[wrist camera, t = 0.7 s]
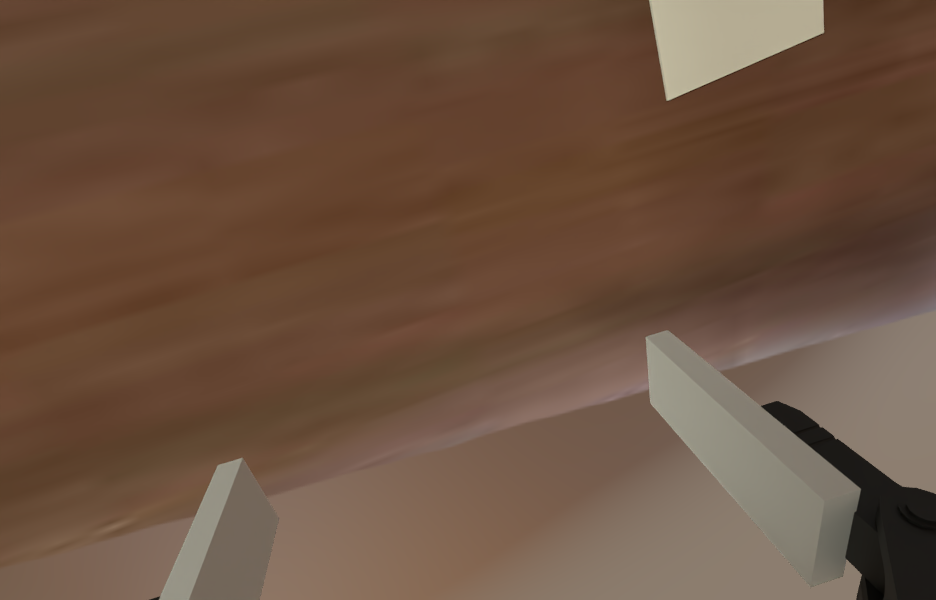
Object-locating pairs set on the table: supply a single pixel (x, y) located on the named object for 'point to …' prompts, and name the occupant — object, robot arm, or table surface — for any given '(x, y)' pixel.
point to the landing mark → (726, 36)
